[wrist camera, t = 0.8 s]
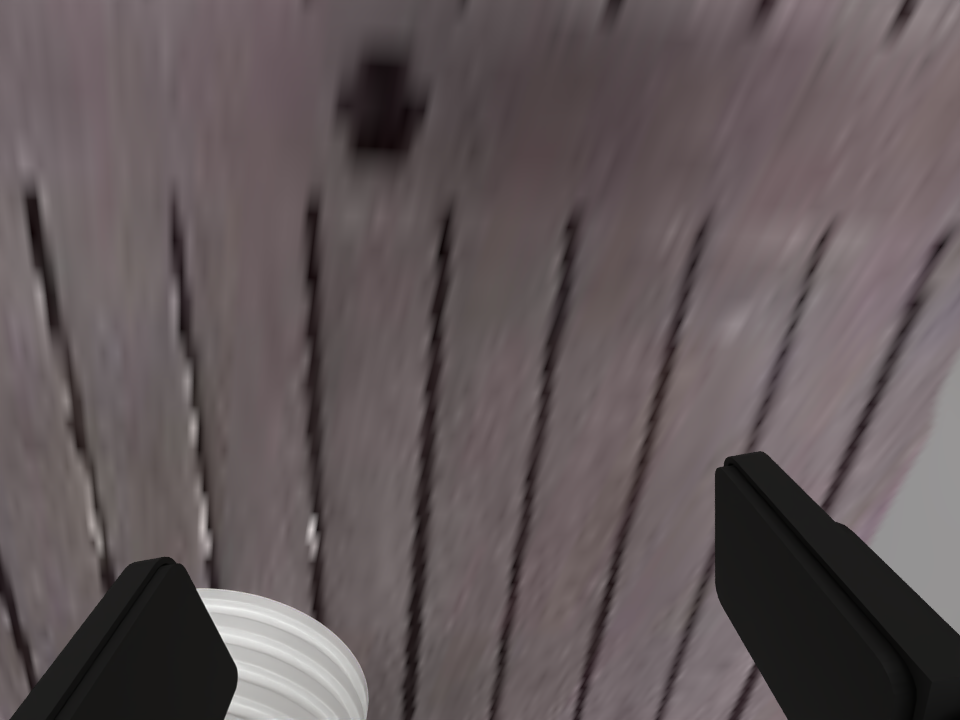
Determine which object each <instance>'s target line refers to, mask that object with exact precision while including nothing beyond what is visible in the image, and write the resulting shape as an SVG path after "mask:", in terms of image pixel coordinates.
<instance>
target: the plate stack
mask: <svg viewBox="0 0 960 720" xmlns="http://www.w3.org/2000/svg"><path fill="white" fill-rule="evenodd" d="M196 590H197V592H198V594H199V595H200V597H201V599H202V601H203V603H204V605H205V607H206V609H207V611H208V613H209V615H210V617H211V618H212V620H213V622H214V624H215V626H216V628H217V630H218V632H219V634H220V636H221V638H222V640H223V641H224V643H225V645H226V647H227V649H228V651H229V653H230V655H231V657H232V659H233V661H234V663H235V664H236V667H237V671H238V682H237V687H236V691H235V693H234V696H233V698H232V701H231V704H230V706H229V709H228V711H227V714H226V716H225V719H224V720H366V718H367V711H368V702H369V696H368V687H367V682H366V679H365V676H364V673H363V671H362V669H361V666H360V665H359V663H358V661H357V659H356V658H355V656H354V655H353V653H352V652H351V651H350V649H349V648H348V647H347V646H346V645H345V644H344V643H343V642H342V641H341V639H339V638H338V637H337V636H336V635H335V634H334V633H333V632H332V631H330V630H329V629H328V628H327V627H325V626H324V625H322V624H321V623H320V622H318V621H317V620H315V619H313V618H312V617H310V616H308V615H306V614H305V613H303V612H301V611H299V610H297V609H295V608H292V607H290V606H288V605H285V604H283V603H280V602H277V601H274V600H271V599H268V598H265V597H261V596H257V595H253V594H249V593H244V592H238V591H231V590H222V589H203V588H199V589H196Z"/></svg>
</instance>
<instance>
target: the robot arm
mask: <svg viewBox="0 0 960 720" xmlns="http://www.w3.org/2000/svg"><path fill="white" fill-rule="evenodd" d="M715 585H716V591H717V594H718V598H719V600H720V603H721V605H722V607H723V609H724V610H725V612H726V614H727V616H728V617H729V619H730V621H731V622H732V624H733V626H734V628H735V629H736V631H737V633H738V634H739V636H740V638H741V640H742V641H743V643H744V645H745V646H746V648H747V650H748V652H749V653H750V655H751V657H752V659H753V660H754V662H755V664H756V665H757V667H758V669H759V671H760V672H761V674H762V676H763V677H764V679H765V681H766V683H767V684H768V686H769V688H770V690H771V691H772V693H773V695H774V696H775V698H776V700H777V702H778V703H779V705H780V707H781V708H782V710H783V712H784V714H785V715H786V717H787V719H788V720H960V635H959V634H958V633H957V632H956V631H955V630H954V629H953V628H951V626H949V624H948V623H946V622H945V621H944V620H943V619H942V618H941V617H940V616H939V615H938V614H937V613H936V612H935V611H934V610H933V609H932V608H931V607H930V606H929V605H928V604H927V603H926V602H925V601H924V600H923V599H922V598H921V597H920V596H919V595H918V594H917V593H916V592H915V591H913V589H912V588H910V587H909V586H908V585H907V584H906V583H905V582H904V581H903V580H902V579H901V578H900V577H899V576H898V575H897V574H896V573H895V572H894V571H893V570H892V569H891V568H890V567H889V566H888V565H887V564H886V563H885V562H884V561H883V560H882V559H881V558H880V557H879V556H878V555H877V554H876V553H875V552H874V551H873V550H871V549H870V548H869V547H868V546H867V545H866V544H865V543H864V542H863V541H862V540H861V539H860V538H859V537H858V536H857V535H856V534H855V533H854V532H853V531H852V530H850V529H849V528H848V527H846V526H845V525H843V524H840V523H838V522H835V521H834V520H833V519H832V518H831V517H830V516H829V515H828V514H827V513H826V512H825V511H824V510H823V509H822V508H821V507H820V506H819V505H818V504H817V503H815V502H814V501H813V500H812V499H811V498H810V497H809V496H808V495H807V494H806V493H805V492H804V491H803V490H802V489H801V488H800V487H799V486H798V485H797V484H796V483H795V482H794V481H793V480H792V479H791V478H790V477H789V476H788V475H787V474H786V473H785V472H784V471H783V470H782V469H781V468H780V467H779V466H778V465H777V464H776V463H775V462H774V461H773V460H772V459H771V458H770V457H769V456H768V455H767V454H766V453H764V452H761V451H759V452H753V453H748V454H742V455H736V456H731V457H728V458H726V459H725V462H724V467H719V468H717V469H716V471H715ZM237 682H238V671H237V667H236V664H235V663H234V661H233V659H232V657H231V655H230V653H229V651H228V649H227V647H226V645H225V643H224V641H223V640H222V638H221V636H220V634H219V632H218V630H217V628H216V626H215V624H214V622H213V620H212V618H211V617H210V615H209V613H208V611H207V609H206V607H205V605H204V603H203V601H202V599H201V597H200V595H199V594H198V592H197V590H196V588H195V586H194V584H193V582H192V580H191V578H190V576H189V574H188V572H187V571H186V569H185V567H184V566H183V565H181V564H176V562H175V561H174V560H173V559H172V558H170V557H161V558H156V559H150V560H144V561H139V562H134V563H132V564H130V565H128V566H127V567H126V568H125V569H124V571H123V572H122V573H121V575H120V576H119V577H118V579H117V580H116V581H115V582H114V584H113V585H112V586H111V588H110V589H109V590H108V592H107V593H106V594H105V596H104V597H103V598H102V599H101V601H100V602H99V603H98V605H97V606H96V607H95V609H94V610H93V611H92V613H91V614H90V615H89V616H88V618H87V619H86V620H85V622H84V623H83V624H82V626H81V627H80V628H79V630H78V631H77V632H76V633H75V635H74V636H73V637H72V639H71V640H70V641H69V643H68V644H67V645H66V647H65V648H64V649H63V650H62V652H61V653H60V654H59V656H58V657H57V658H56V660H55V661H54V662H53V664H52V665H51V666H50V668H49V669H48V670H47V671H46V673H45V674H44V675H43V677H42V678H41V679H40V681H39V682H38V683H37V685H36V686H35V687H34V688H33V690H32V691H31V692H30V694H29V695H28V696H27V698H26V699H25V700H24V702H23V703H22V704H21V705H20V707H19V708H18V709H17V711H16V712H15V713H14V715H13V716H12V717H11V719H10V720H224V719H225V716H226V714H227V711H228V709H229V706H230V704H231V701H232V698H233V696H234V693H235V691H236V687H237Z"/></svg>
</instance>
